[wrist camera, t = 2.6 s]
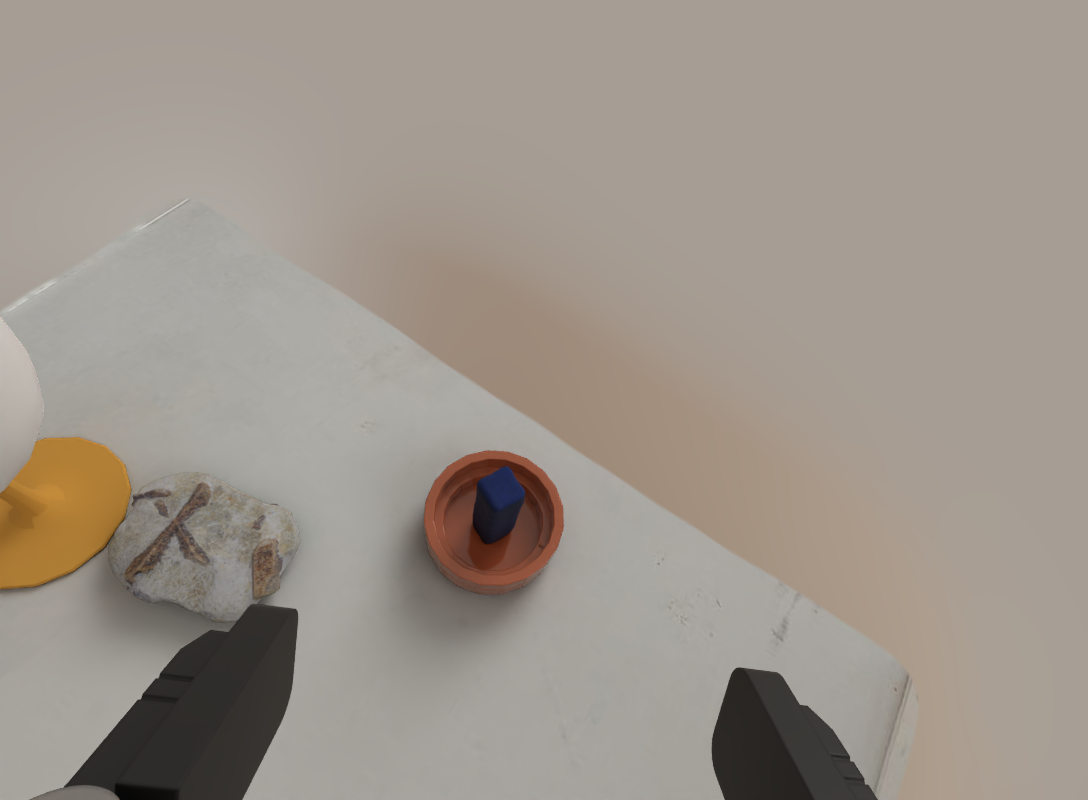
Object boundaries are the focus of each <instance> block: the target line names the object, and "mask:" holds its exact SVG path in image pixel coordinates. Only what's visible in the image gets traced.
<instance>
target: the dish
mask: <svg viewBox="0 0 1088 800" xmlns="http://www.w3.org/2000/svg"><path fill="white" fill-rule="evenodd" d="M504 466H508V467H509V468H510V469H511V470H512V472H513V474H514V476H515V478H516V479H517V481H518V482H519V484H520V485H521V486H522V487H523V489H524V491H525V500H524V504H523V505H522V507H521V509H520V512H519V514H518V518H517V520H516V523H515V527H514V528H513V529H512V531H511V532H510V533H509V534H508V535H506V536H505V537H503V538H502V539H500V540H498V541H496V542H494V543H492V544H485V543H484V542H483V541H482V540H481V538H480V536H479V535H478V533H477V532H476V530H475V529H474V527H473V510H474V503H475V500H476V490H477V483H478V481H479V480H480V479H481V478H483V477H486V476H488V475H490V474H492V473H493V472H495V471H497V470H498V469H500V468H502V467H504ZM563 527H564V520H563V505H562V502H561V499H560V497H559V494H558V491H557V488H556V486H555V485H554V484H553V482H552V481H551V480H550V478H549V477H548V476H547V474H546V473H545V472H544V471H543V470H542V469H541V468H539V467H538V466H537V465H535V464H534V463H532V462H531V461H530V460H528V459H527V458H524V457H521V456H519V455H516V454H513V453H510V452H504V451H483V452H479V453H474V454H470V455H467V456H464V457H463V458H461V459H459V460H458V461H456V462H454V463H452V464H451V465H449V466H448V467H447V468H446V469H445V470H444V471H443V472H442V473H441V475H440V476H439V477H438V478H437V479H436V480H435V482H434V483H433V486H432V488H431V490H430V492H429V494H428V497H427V499H426V502H425V512H424V533H425V538H426V543H427V547H428V551H429V554H430V556H431V558H432V559H433V561H434V563H435V564H436V566H437V567H438V569H439V570H440V572H441V573H442V574H443V575H444V576H446V577H447V578H448V579H449V580H451V581H452V582H453V583H454V584H456V585H457V586H459V587H461V588H464V589H467V590H470V591H472V592H475V593H479V594H503V593H506V592H510V591H513V590H516V589H519V588H521V587H524V586H525V585H526V584H528V583H529V582H531V581H532V580H533V579H535V578H536V577H537V576H539V575H540V573H541V572H542V571H543V569H544V568H545V566H546V565H547V564H548V562H549V561H550V559H551V558H552V556H553V555H554V553H555V551H556V550H557V548H558V545H559V542H560V538H561V535H562V532H563Z"/></svg>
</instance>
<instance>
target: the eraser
mask: <svg viewBox="0 0 1088 800" xmlns="http://www.w3.org/2000/svg"><path fill="white" fill-rule="evenodd" d="M524 500H525V491H524V489H523V487H522V486H521V485H520V484H519V482H518V481H517V479H516V478H515V476H514V474H513V472H512V470H511V469H510V468H509V467H508V466H504V467H502V468H500V469H498V470H497V471H495V472H493V473H492V474H490V475H488V476H486V477H483V478H481V479H480V480H479V481H478V483H477V490H476V500H475V503H474V510H473V527H474V529H475V530H476V532H477V533H478V535H479V536H480V538H481V540H482V541H483V542H484V543H485V544H492V543H494V542H496V541H498V540H500V539H502V538H503V537H505V536H506V535H508V534H509V533H510V532H511V531H512V529H513V528H514V527H515V523H516V520H517V518H518V514H519V512H520V509H521V507H522V505H523V504H524Z"/></svg>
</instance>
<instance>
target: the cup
mask: <svg viewBox="0 0 1088 800" xmlns="http://www.w3.org/2000/svg"><path fill="white" fill-rule="evenodd" d="M43 414H44V404H43V399H42V395H41V390H40V385H39V380H38V376H37V373H36V371H35V369H34V367H33V364H32V362H31V360H30V358H29V355H28V353H27V351H26V349H25V348H24V347H23V345H22V344H21V343H20V341H19V340H18V339H17V337H16V336H15V335H14V333H13V332H12V331H11V330H10V328H9V327H8V326H7V324H6V323H5V322H4V320H3V319H2V318H1V316H0V589H10V588H23V587H36V586H39V585H41V584H44V583H46V582H49V581H51V580H54V579H56V578H58V577H61V576H63V575H66V574H68V573H71V572H73V571H75V570H76V569H77V568H79V567H80V566H81V565H83V564H84V563H85V562H86V561H88V560H89V559H90V558H91V557H93V556H94V555H95V554H97V553H98V552H99V551H100V550H102V549H103V548H104V547H105V546H106V545H107V543H108V542H109V540H110V539H111V537H112V536H113V535H114V533H115V531H116V530H117V528H118V526H119V525H120V524H121V523H122V522H123V520H124V519H125V515H126V511H127V506H128V502H129V498H130V493H131V486H130V483H129V479H128V475H127V471H126V467H125V465H124V464H123V463H122V462H121V461H120V460H119V459H118V458H117V457H116V456H115V455H114V454H113V453H112V452H111V451H110V450H109V449H108V448H107V447H106V446H103V445H100V444H97V443H94V442H91V441H88V440H85V439H82V438H79V437H73V438H45V439H42V440H39V441H36V440H37V437H38V434H39V431H40V427H41V423H42V418H43Z"/></svg>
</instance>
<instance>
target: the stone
mask: <svg viewBox="0 0 1088 800" xmlns="http://www.w3.org/2000/svg"><path fill="white" fill-rule="evenodd" d="M133 499H134V501H133V503H132V506H133V509H132V511H131V512H130V514H129V515H128V517H127V518H126V519H125V521H124V522H123V523H121V524H120V525H119V526H118V528H117V530H116V531H115V533H114V537H113V539H112V540H111V542H110V544H109V562H110V565H111V568H112V570H113V572H114V574H115V575H116V577H117V578H118V579H119V580H120V581H121V582H122V584H123V586H124V587H125V588H126V589H127V590H129V591H130V592H131V593H132V594H133V595H134V596H136V597H138V598H139V599H141V600H145V601H147V602H150V603H157V602H160V601H168V602H172V603H175V604H178V605H180V606H182V607H183V608H185V609H187V610H189V611H191V612H195V613H198V614H201V615H204V616H206V617H207V618H209V619H210V620H212V621H214V622H226V621H235V620H239V618H240V617H241V616H242V614H243V613H244V612H245V610H246V609H247V608H248V607H249V606H250V605H251V604H257V603H258V601H259V600H260V599H261V598H262V597H265V596H267V595H270V594H273V593H275V592H276V591H277V590H278V589H279V588H280V578H281V574H282V572H283V571H284V569H285V568H286V566H287V565H288V563H289V562H290V561H291V560H292V558H293V557H294V555H295V553H296V551H297V549H298V546H299V544H300V536H299V530H298V525H297V523H296V521H295V519H294V517H293V515H292V514H291V512H290V511H288V510H286V509H285V508H283V507H280V506H279V505H277V504H266V503H262V502H261V501H258V500H256V499H255V498H253V497H251V496H249V495H247V494H244V493H241V492H239V491H238V490H236V489H234V488H233V487H231V486H229V485H227V484H226V483H224V482H223V481H221V480H218V479H216V478H214V477H212V476H210V475H207V474H203V473H182V474H177V475H172V476H169V477H165V478H160V479H158V480H156V481H154V482H151V483H149V484H148V485H146V486H144V487H142V488H141V489H140V490H139V492H138V494H135V495H133Z"/></svg>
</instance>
